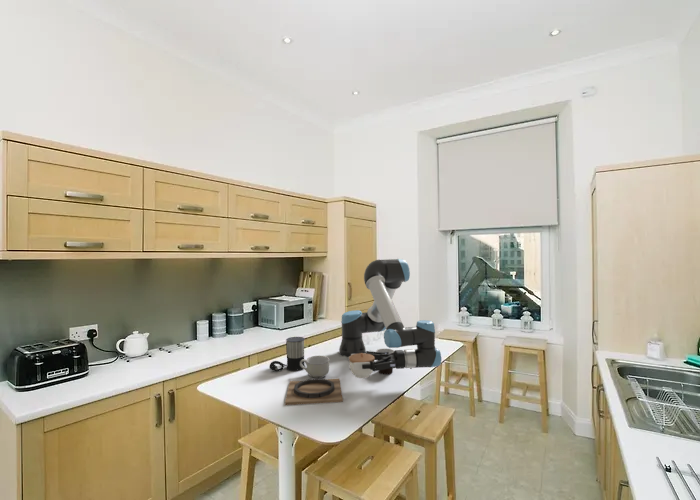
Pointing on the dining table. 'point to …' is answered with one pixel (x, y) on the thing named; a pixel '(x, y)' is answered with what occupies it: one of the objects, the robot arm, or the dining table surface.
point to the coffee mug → (391, 352)
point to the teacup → (316, 366)
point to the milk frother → (292, 355)
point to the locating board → (314, 391)
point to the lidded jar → (361, 358)
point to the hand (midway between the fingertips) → (352, 361)
